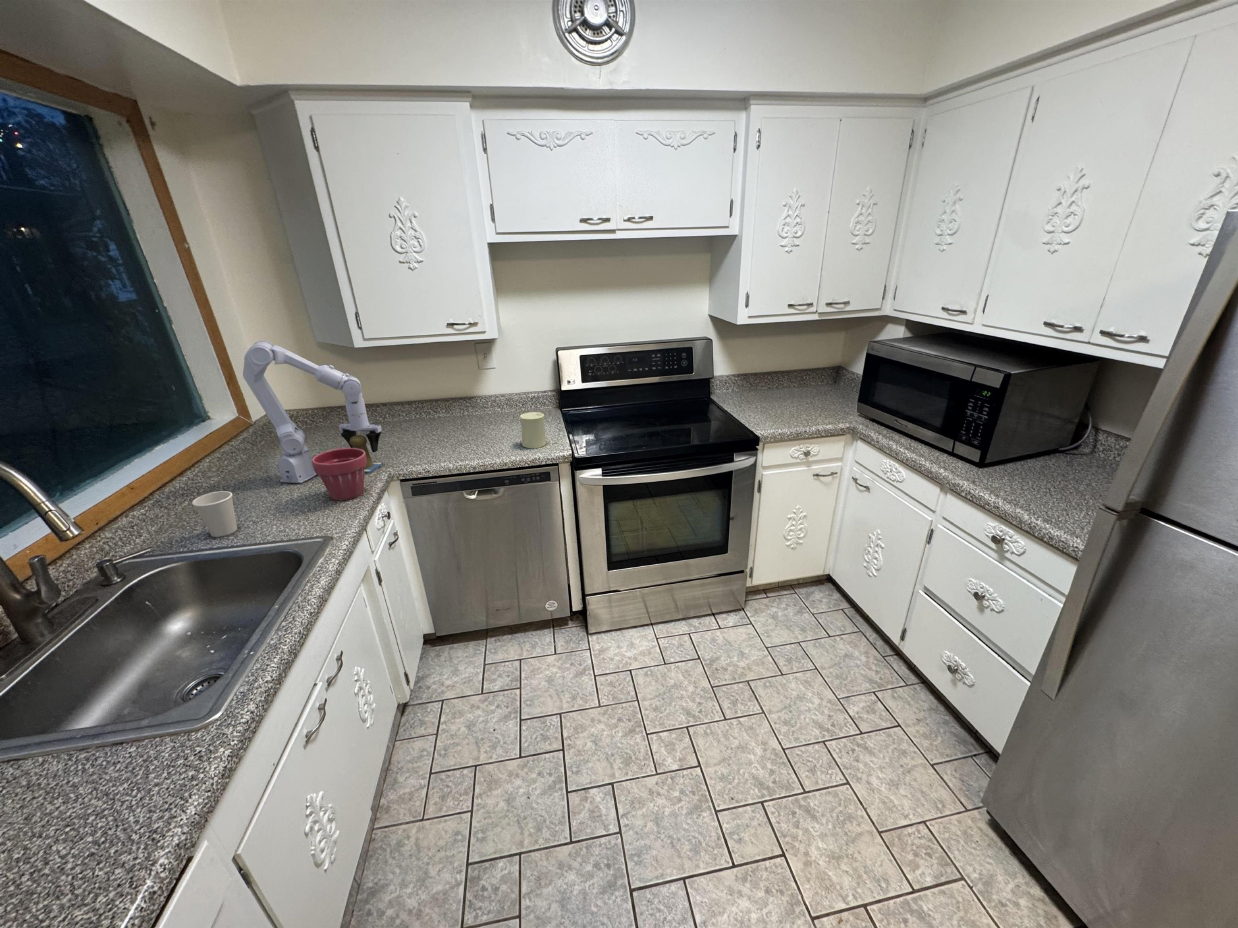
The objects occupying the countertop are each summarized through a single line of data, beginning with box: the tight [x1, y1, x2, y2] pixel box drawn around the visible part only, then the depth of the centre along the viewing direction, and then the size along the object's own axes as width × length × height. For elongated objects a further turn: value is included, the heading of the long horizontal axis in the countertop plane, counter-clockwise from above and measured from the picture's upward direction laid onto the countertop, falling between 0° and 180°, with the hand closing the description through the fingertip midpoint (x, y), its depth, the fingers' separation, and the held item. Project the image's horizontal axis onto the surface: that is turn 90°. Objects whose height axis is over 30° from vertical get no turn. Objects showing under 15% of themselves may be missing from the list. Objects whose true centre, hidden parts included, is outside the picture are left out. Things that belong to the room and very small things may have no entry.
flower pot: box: [311, 447, 367, 501], centre depth 153 cm, size 14×14×13 cm
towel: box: [364, 461, 384, 474], centre depth 174 cm, size 8×9×1 cm
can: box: [519, 411, 547, 449], centre depth 193 cm, size 9×9×12 cm
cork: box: [350, 434, 373, 469], centre depth 172 cm, size 6×6×11 cm
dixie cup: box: [191, 490, 238, 538], centre depth 132 cm, size 8×8×10 cm
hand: (365, 450), depth 174 cm, fingers open, 7 cm apart
